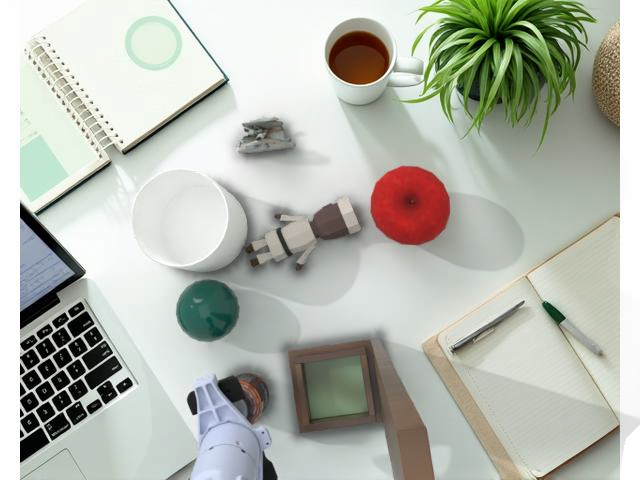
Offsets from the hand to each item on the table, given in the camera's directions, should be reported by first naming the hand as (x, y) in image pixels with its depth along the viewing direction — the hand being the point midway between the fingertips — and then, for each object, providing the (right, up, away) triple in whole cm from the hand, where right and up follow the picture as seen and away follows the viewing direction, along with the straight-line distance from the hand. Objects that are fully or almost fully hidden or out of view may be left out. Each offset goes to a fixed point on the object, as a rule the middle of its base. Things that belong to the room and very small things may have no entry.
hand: (238, 411), depth 69 cm
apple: (+20, +23, +14) cm, 33 cm away
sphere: (-5, +10, +14) cm, 18 cm away
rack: (+12, 0, +12) cm, 16 cm away
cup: (-7, +21, +15) cm, 26 cm away
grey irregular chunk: (+2, +33, +16) cm, 36 cm away
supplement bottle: (0, -1, +13) cm, 13 cm away
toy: (+7, +20, +14) cm, 25 cm away
